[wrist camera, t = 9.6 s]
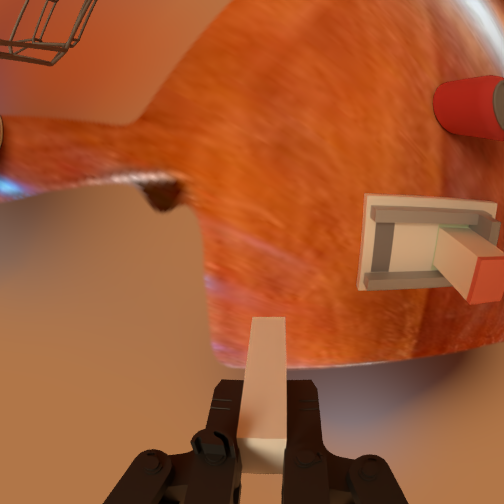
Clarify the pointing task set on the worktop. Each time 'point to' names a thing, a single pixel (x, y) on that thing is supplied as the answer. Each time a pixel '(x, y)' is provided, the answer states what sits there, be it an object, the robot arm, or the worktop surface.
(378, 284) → the grey tray
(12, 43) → the geometric lantern
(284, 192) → the worktop surface
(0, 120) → the can
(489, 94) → the beer can
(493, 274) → the block
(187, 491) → the robot arm
